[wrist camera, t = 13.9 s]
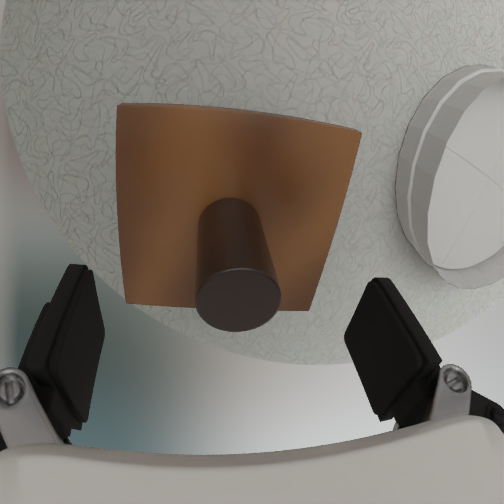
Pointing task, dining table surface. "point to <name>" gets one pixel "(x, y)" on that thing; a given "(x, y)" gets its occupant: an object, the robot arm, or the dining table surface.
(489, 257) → the dish
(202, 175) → the square peg stand
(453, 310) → the dining table surface
